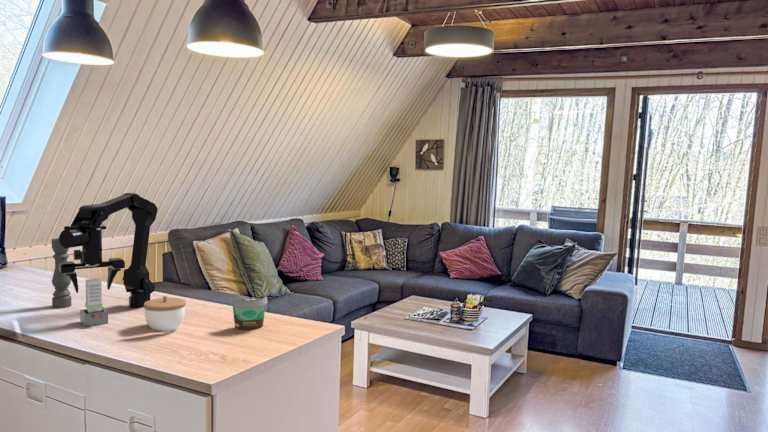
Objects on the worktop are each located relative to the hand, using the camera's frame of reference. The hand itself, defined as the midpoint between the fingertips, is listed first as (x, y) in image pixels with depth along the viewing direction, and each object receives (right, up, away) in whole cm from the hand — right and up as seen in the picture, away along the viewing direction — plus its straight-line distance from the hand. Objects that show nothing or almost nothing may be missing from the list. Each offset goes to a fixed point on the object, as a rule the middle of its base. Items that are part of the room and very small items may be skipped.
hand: (93, 291), depth 181 cm
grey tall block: (+1, -7, -1) cm, 7 cm away
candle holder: (-23, -9, +23) cm, 34 cm away
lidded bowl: (+25, -13, -2) cm, 28 cm away
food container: (+52, -13, +2) cm, 53 cm away
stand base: (+1, -11, 0) cm, 11 cm away
